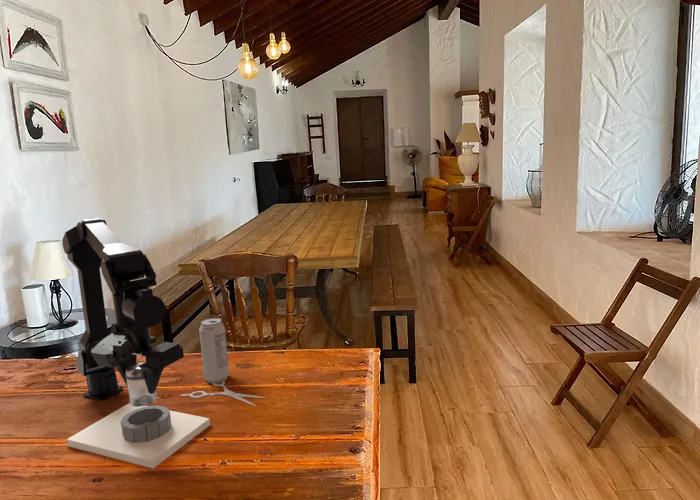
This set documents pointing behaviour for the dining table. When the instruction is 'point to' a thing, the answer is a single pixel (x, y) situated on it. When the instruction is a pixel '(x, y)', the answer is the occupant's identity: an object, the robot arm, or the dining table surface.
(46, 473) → the dining table surface
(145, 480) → the dining table surface
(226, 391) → the scissors
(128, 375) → the piston
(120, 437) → the plate
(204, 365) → the energy drink can
